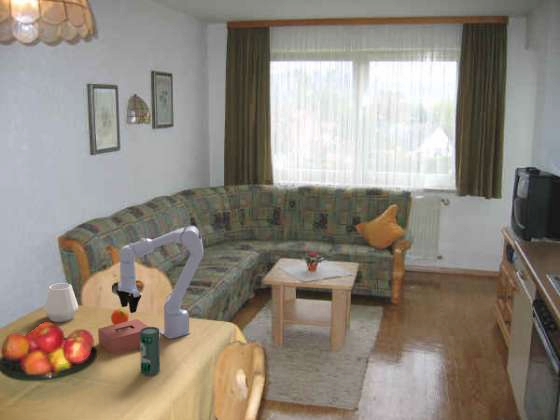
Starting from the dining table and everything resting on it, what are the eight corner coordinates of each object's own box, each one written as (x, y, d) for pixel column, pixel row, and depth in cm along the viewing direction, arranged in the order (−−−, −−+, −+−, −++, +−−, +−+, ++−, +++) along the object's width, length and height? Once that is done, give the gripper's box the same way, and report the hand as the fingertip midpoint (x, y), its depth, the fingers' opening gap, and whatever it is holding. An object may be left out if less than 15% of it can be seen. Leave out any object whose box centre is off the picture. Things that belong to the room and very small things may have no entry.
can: (139, 369, 195) (138, 328, 192) (157, 366, 197) (156, 325, 194) (143, 377, 189) (142, 335, 186) (161, 374, 192) (160, 332, 189)
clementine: (134, 325, 232) (133, 309, 231) (121, 330, 226) (120, 314, 225) (120, 321, 236) (120, 304, 235) (107, 326, 231) (107, 309, 229)
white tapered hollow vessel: (71, 324, 232) (70, 291, 229) (39, 323, 232) (37, 290, 229) (83, 312, 245) (81, 281, 242) (52, 311, 245) (50, 280, 242)
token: (130, 339, 217) (130, 327, 216) (132, 341, 215) (132, 329, 214) (117, 342, 214) (117, 330, 213) (119, 344, 212) (119, 332, 211)
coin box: (137, 333, 224) (137, 319, 223) (152, 343, 215) (151, 328, 214) (98, 343, 214) (98, 328, 213) (112, 354, 205) (111, 339, 204)
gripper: (110, 273, 221) (111, 306, 224) (126, 282, 211) (127, 317, 213) (127, 270, 226) (127, 302, 229) (143, 279, 215) (144, 313, 218)
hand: (128, 309), depth 221 cm, fingers open, 7 cm apart
